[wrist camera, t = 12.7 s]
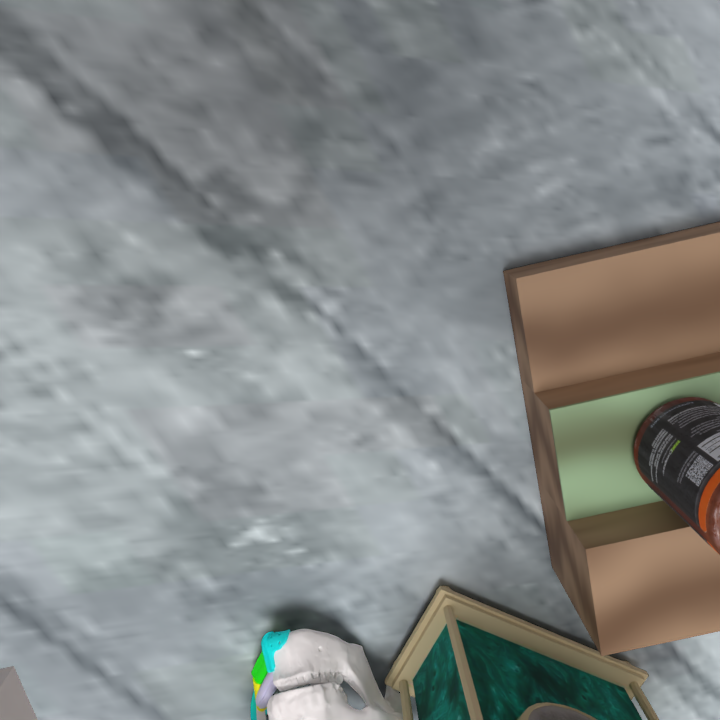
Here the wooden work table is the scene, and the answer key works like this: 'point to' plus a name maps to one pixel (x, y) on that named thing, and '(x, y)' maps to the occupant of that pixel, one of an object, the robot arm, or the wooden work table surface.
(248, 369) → the wooden work table surface
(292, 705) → the grey piece
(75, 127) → the wooden work table surface
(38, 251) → the wooden work table surface
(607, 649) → the step stand
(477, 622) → the carriage clock
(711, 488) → the supplement bottle
